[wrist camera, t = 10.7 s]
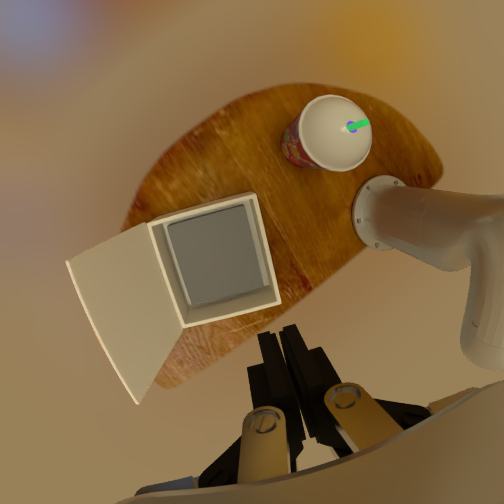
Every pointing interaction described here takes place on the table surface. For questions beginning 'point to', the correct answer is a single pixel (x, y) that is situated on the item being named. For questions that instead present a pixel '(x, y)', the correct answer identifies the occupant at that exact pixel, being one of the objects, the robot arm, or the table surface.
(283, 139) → the smoothie
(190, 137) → the table surface
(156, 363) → the lid
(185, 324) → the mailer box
